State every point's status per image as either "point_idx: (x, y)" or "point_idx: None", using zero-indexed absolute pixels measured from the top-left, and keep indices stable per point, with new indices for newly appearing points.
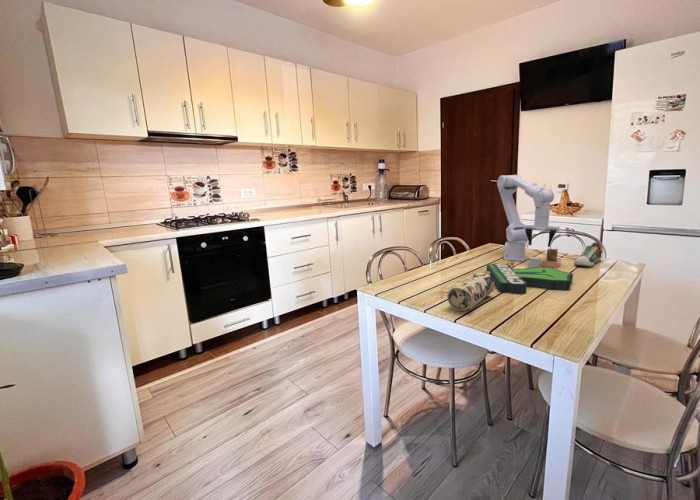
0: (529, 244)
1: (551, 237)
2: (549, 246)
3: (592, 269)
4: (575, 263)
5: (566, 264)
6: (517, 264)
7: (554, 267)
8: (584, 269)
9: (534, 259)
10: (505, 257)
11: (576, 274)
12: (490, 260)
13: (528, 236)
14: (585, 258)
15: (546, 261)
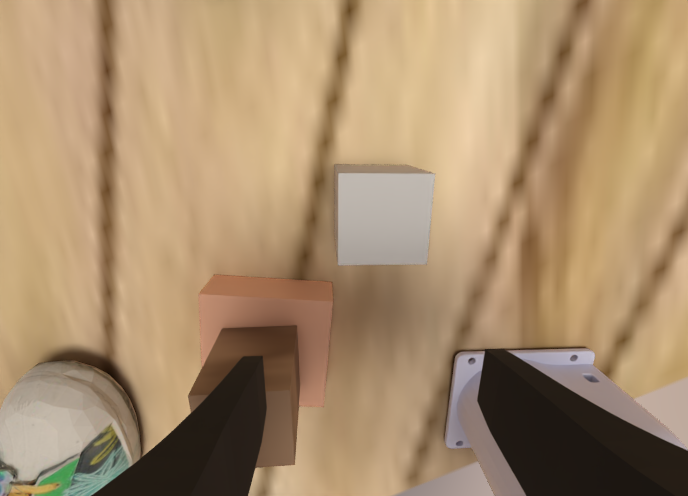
0: (511, 353)
1: (139, 479)
2: (240, 361)
3: (6, 345)
4: (110, 387)
5: (187, 400)
6: (492, 257)
7: (237, 277)
8: (50, 322)
9: (383, 171)
10: (587, 368)
11: (50, 145)
12: (681, 288)
13: (655, 447)
14: (6, 428)
15: (292, 299)
